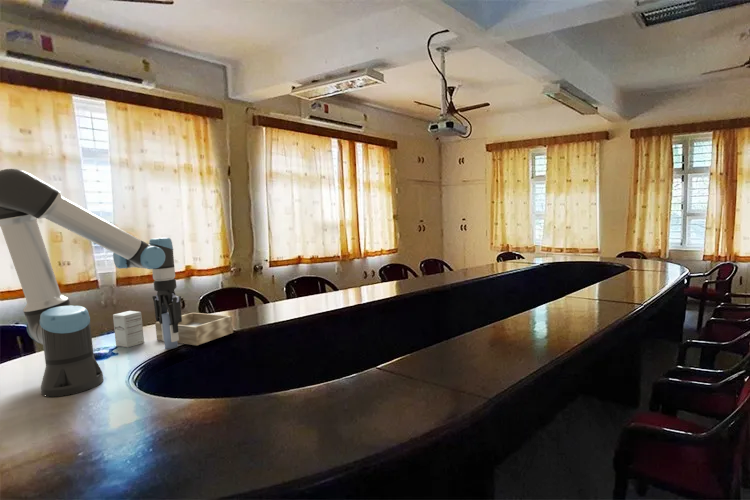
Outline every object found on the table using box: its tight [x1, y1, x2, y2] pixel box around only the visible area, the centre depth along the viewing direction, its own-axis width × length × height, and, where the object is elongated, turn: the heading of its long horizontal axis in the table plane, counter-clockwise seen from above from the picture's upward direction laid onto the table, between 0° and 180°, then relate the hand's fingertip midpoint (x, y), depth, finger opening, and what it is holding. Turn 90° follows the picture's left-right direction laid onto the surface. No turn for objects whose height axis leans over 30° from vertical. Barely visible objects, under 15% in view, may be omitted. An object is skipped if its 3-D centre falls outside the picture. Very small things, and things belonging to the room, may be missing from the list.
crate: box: [154, 312, 234, 346], centre depth 177 cm, size 18×24×7 cm
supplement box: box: [112, 310, 145, 348], centre depth 171 cm, size 7×7×13 cm
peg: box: [162, 312, 179, 350], centre depth 163 cm, size 4×4×13 cm
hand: (170, 340), depth 163 cm, fingers closed on peg, 4 cm apart
